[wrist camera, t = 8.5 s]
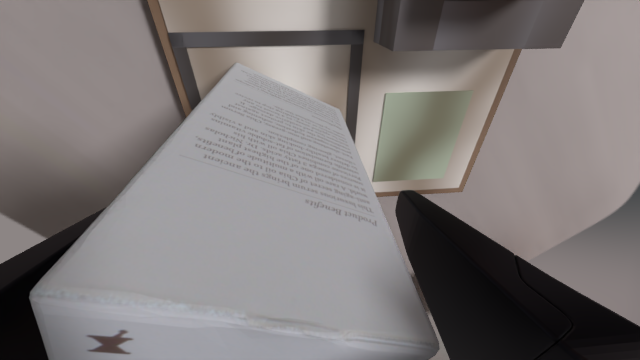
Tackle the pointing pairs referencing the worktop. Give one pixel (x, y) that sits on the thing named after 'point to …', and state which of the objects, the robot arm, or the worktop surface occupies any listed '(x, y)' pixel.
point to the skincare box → (240, 246)
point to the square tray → (373, 68)
